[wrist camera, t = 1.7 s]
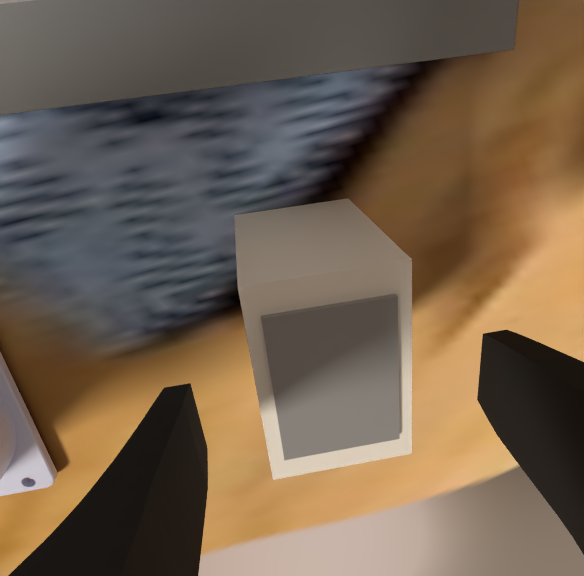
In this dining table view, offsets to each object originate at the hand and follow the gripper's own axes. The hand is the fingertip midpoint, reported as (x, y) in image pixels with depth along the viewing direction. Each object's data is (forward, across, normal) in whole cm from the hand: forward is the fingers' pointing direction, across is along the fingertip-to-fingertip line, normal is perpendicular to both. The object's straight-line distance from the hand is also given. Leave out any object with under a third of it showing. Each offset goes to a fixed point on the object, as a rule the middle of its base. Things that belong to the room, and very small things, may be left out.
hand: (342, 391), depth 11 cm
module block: (+6, 0, 0) cm, 7 cm away
